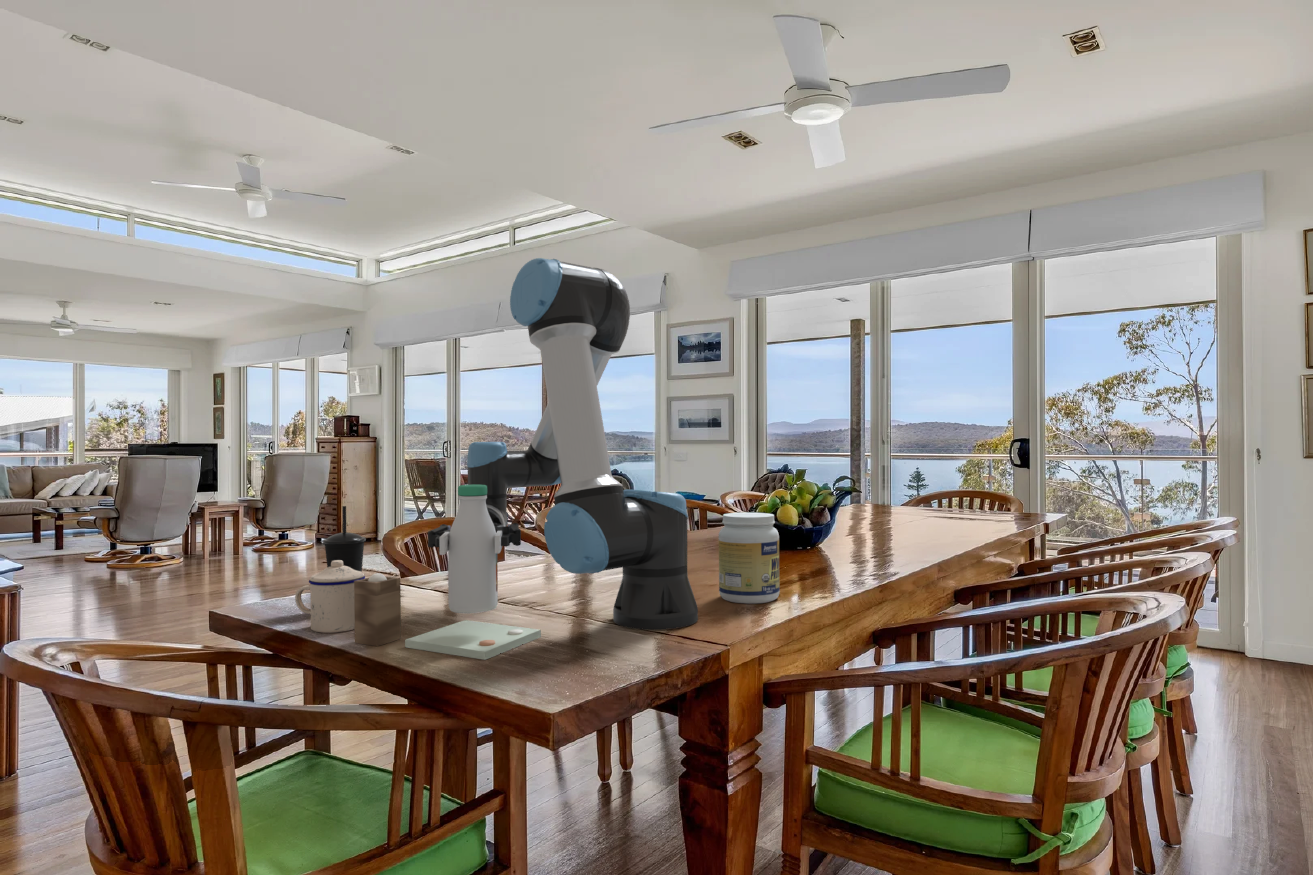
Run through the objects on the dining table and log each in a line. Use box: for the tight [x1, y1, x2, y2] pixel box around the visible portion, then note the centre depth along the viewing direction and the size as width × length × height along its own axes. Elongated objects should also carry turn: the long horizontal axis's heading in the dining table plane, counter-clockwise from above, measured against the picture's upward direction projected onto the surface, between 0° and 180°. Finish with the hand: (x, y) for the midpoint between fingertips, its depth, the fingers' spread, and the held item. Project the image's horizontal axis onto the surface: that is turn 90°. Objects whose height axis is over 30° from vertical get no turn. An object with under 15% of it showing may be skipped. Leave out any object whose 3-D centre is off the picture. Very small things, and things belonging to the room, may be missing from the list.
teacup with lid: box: [294, 560, 366, 634], centre depth 132 cm, size 12×9×12 cm
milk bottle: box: [447, 484, 499, 614], centre depth 121 cm, size 8×8×20 cm
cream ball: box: [368, 572, 387, 582], centre depth 122 cm, size 3×3×3 cm
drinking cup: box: [322, 505, 367, 572], centre depth 146 cm, size 8×8×20 cm
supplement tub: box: [718, 512, 780, 604], centre depth 151 cm, size 12×12×17 cm
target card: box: [404, 619, 542, 661], centre depth 121 cm, size 16×14×2 cm
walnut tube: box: [354, 575, 402, 647], centre depth 122 cm, size 5×5×10 cm
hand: (469, 545), depth 116 cm, fingers closed on milk bottle, 8 cm apart
